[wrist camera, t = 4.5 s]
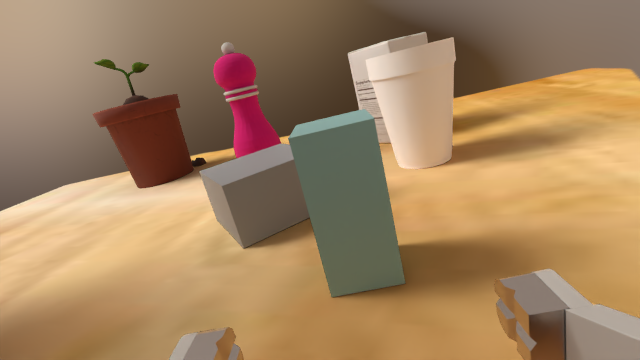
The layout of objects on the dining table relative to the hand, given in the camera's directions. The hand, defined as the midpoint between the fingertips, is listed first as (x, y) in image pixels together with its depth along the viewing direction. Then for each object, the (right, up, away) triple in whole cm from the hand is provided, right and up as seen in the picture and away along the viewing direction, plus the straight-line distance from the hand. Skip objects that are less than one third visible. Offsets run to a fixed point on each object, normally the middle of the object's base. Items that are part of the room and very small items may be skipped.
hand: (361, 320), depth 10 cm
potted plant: (-35, +5, +63) cm, 73 cm away
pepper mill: (-10, +5, +43) cm, 44 cm away
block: (+2, -2, +12) cm, 12 cm away
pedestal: (-6, +1, +25) cm, 26 cm away
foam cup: (+11, +7, +30) cm, 33 cm away
